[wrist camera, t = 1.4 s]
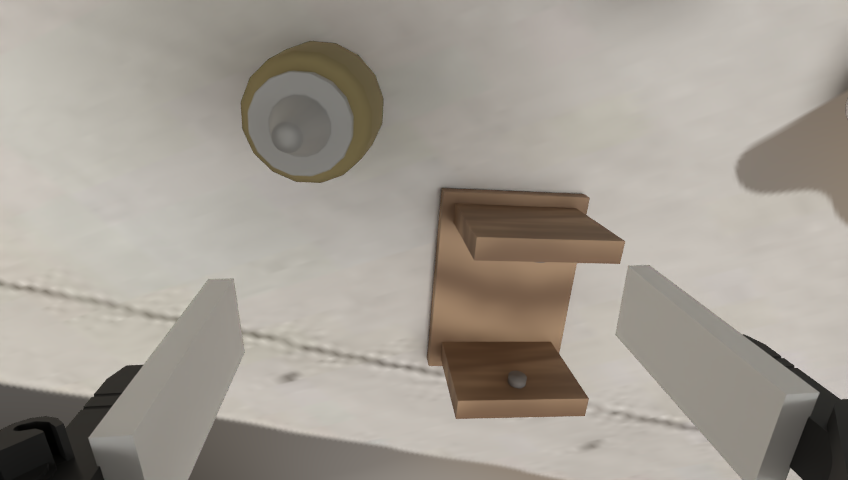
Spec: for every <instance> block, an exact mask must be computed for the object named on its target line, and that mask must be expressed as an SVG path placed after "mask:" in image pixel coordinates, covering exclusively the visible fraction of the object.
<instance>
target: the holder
mask: <svg viewBox="0 0 848 480" xmlns="http://www.w3.org/2000/svg"><path fill="white" fill-rule="evenodd" d="M589 199H590V198H589V197H587V196H586V195H584V194H570V193H547V192H523V191H499V190H476V189H452V188H442V189H441V200H440V212H439V224H438V236H437V248H436V259H435V271H434V283H433V295H432V307H431V318H430V330H429V342H428V354H427V360H428V365H429V366H443V369H444V373H445V377H446V381H447V385H448V389H449V393H450V397H451V401H452V405H453V409H454V413H455V417H456V419H468V418H512V417H557V416H585V413H586V408H587V404H588V400H589V398H588V397H587V395H586V394H585V392H584V391H583V389H582V388H581V386H580V385H579V383H578V382H577V380H576V379H575V377H574V376H573V374H572V373H571V371H570V370H569V368H568V367H567V365H566V364H565V362H564V361H563V359H562V358H561V356H560V355H559V351H560V346H561V341H562V336H563V331H564V326H565V321H566V315H567V310H568V305H569V300H570V295H571V290H572V285H573V280H574V275H575V270H576V265H577V263H610V264H620V261H621V257H622V253H623V248H624V244H625V241H624V240H622V239H621V238H619V237H618V236H616V235H615V234H614V233H612V232H611V231H609V230H608V229H606V228H605V227H603V226H602V225H600V224H599V223H597V222H596V221H594V220H593V219H591V218H590V217H588V216H587V215H586V214H587V209H588V204H589Z"/></svg>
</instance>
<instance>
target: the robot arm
mask: <svg viewBox="0 0 848 480" xmlns="http://www.w3.org/2000/svg"><path fill="white" fill-rule="evenodd" d="M615 335H616V336H617V337H618V338H619V339H620V341H621V342H622V343H623V344H624V345H625V346H626V347H627V349H628V350H629V351H630V352H631V353H632V354H633V355H634V357H635V358H636V359H637V360H638V361H639V362H640V363H641V364H642V366H643V367H644V368H645V369H646V370H647V371H648V372H649V374H650V375H651V376H652V377H653V378H654V379H655V380H656V382H657V383H658V384H659V385H660V386H661V387H662V388H663V390H664V391H665V392H666V393H667V394H668V395H669V396H670V398H671V399H672V400H673V401H674V402H675V403H676V404H677V406H678V407H679V408H680V409H681V410H682V411H683V412H684V414H685V415H686V416H687V417H688V418H689V419H690V420H691V422H692V423H693V424H694V425H695V426H696V427H697V428H698V430H699V431H700V432H701V433H702V434H703V435H704V436H705V438H706V439H707V440H708V441H709V442H710V443H711V444H712V446H713V447H714V448H715V449H716V450H717V451H718V452H719V454H720V455H721V456H722V457H723V458H724V459H725V460H726V462H727V463H728V464H729V465H730V466H731V467H732V468H733V470H734V471H735V472H736V473H737V474H738V475H739V476H740V478H741V479H742V480H786V478H787V475H788V473H789V470H790V468H791V469H792V470H794V471H795V472H796V473H797V474H798V475H799V476H800V477H801V478H802V479H803V480H848V399H842V400H841V399H839V398H838V397H836V396H835V395H834V394H832V393H831V392H830V391H828V390H827V389H825V388H824V387H823V386H821V385H820V384H819V383H817V382H816V381H814V380H813V379H812V378H810V377H809V376H808V375H806V374H805V373H804V372H802V371H801V370H799V369H798V368H794V365H793V364H791V363H790V362H788V361H787V360H786V359H784V358H781V356H780V355H779V354H777V353H776V352H775V351H773V350H772V349H771V348H769V347H768V346H766V345H765V344H763V343H761V342H759V341H757V340H755V339H753V338H751V337H749V336H746V335H744V334H743V335H742V334H741V333H739V332H738V331H737V330H735V329H734V328H733V327H731V326H730V325H729V324H727V323H726V322H725V321H723V320H722V319H721V318H719V317H718V316H717V315H715V314H714V313H713V312H711V311H710V310H709V309H707V308H706V307H705V306H703V305H702V304H701V303H699V302H698V301H697V300H695V299H694V298H693V297H691V296H690V295H689V294H687V293H686V292H685V291H683V290H682V289H681V288H679V287H678V286H677V285H675V284H674V283H673V282H671V281H670V280H668V279H667V278H666V277H664V276H663V275H662V274H660V273H659V272H658V271H656V270H655V269H654V268H652V267H651V266H650V265H637V266H628V269H627V275H626V280H625V285H624V291H623V296H622V302H621V307H620V313H619V318H618V323H617V329H616V334H615ZM244 353H245V351H244V344H243V338H242V331H241V325H240V318H239V311H238V305H237V298H236V292H235V285H234V279H208V281H207V282H206V283H205V285H204V286H203V287H202V289H201V290H200V291H199V292H198V294H197V295H196V296H195V298H194V299H193V300H192V302H191V303H190V304H189V306H188V307H187V308H186V310H185V311H184V312H183V314H182V315H181V316H180V318H179V319H178V320H177V321H176V323H175V324H174V325H173V327H172V328H171V329H170V331H169V332H168V333H167V335H166V336H165V337H164V339H163V340H162V341H161V343H160V344H159V345H158V347H157V348H156V349H155V351H154V352H153V353H152V354H151V356H150V357H149V358H148V360H147V361H146V362H145V364H144V365H129V366H125V367H124V368H122V369H121V370H119V371H118V372H116V373H115V374H114V375H112V376H111V377H109V378H108V379H106V381H105V382H104V383H103V384H102V385H101V387H100V388H99V389H98V390H97V391H96V393H95V394H94V397H91V399H90V400H89V401H88V402H87V403H86V405H85V406H84V409H83V410H81V411H80V412H79V413H78V414H77V415H76V417H75V418H74V419H73V420H72V421H71V423H70V424H69V425H68V426H67V427H66V428H65V426H64V424H63V423H62V422H61V421H60V420H59V419H58V418H53V417H47V416H44V417H36V418H29V419H27V420H23V421H20V422H17V423H14V424H11V425H9V426H7V427H5V428H3V429H1V430H0V480H188V478H189V476H190V474H191V471H192V469H193V467H194V465H195V462H196V460H197V458H198V456H199V453H200V451H201V449H202V446H203V445H204V442H205V440H206V438H207V436H208V433H209V431H210V429H211V426H212V424H213V422H214V420H215V418H216V415H217V413H218V411H219V409H220V406H221V404H222V402H223V400H224V397H225V395H226V393H227V391H228V388H229V386H230V384H231V382H232V379H233V377H234V375H235V373H236V370H237V368H238V366H239V364H240V362H241V359H242V357H243V355H244Z"/></svg>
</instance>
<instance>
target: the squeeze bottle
mask: <svg viewBox="0 0 848 480" xmlns="http://www.w3.org/2000/svg"><path fill="white" fill-rule="evenodd" d="M241 115H242V129H243V131H244V133H245V136H246V138H247V140H248V142H249V144H250V146H251V148H252V151H253V153H254V154H255V155H256V156H257V157H258V158H259V159H260V160H261V161H262V162H263V163H265V164H266V165H267V166H268V167H269V168H270V169H271V170H272V171H273V172H275V173H278V174H280V175H282V176H284V177H287V178H289V179H291V180H293V181H296V182H314V183H322V182H325V181H327V180H330V179H333V178H336V177H339V176H342V175H344V174H345V173H346V172H347V171H348V170H349V169H351V168H352V167H353V166H354V165H355V164H356V163H357V162H358V161H359V160H360V159H361V158H362V157H363V156H364V155H365V153H366V152H367V151H368V149H369V148H370V147H371V146H372V144H373V142H374V140H375V138H376V136H377V134H378V131H379V129H380V127H381V125H382V119H383V96H382V93H381V91H380V88H379V85H378V82H377V79H376V76H375V74H374V73H373V72H372V71H371V70H370V68H369V67H368V66H367V65H366V64H365V63H364V61H363V60H362V59H361V58H360V57H359V55H357V54H355V53H353V52H351V51H349V50H347V49H345V48H344V47H342V46H340V45H338V44H336V43H327V42H315V41H309V42H306V43H303V44H300V45H297V46H295V47H292V48H289V49H286V50H284V51H283V52H281V53H279V54H277V55H275V56H273V57H271V58H270V59H268V60H267V61H266V62H265V63H264V64H263V65H262V66H261V67H260V68H259V69H258V70H257V71H256V72H255V73H254V74H253V75H252V76H251V77H250V79H249V81H248V84H247V87H246V89H245V92H244V95H243V98H242V100H241Z"/></svg>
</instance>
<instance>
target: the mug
mask: <svg viewBox="0 0 848 480" xmlns="http://www.w3.org/2000/svg"><path fill="white" fill-rule="evenodd" d="M845 111H846V117H847V119H848V99H847V102H846V108H845Z"/></svg>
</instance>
